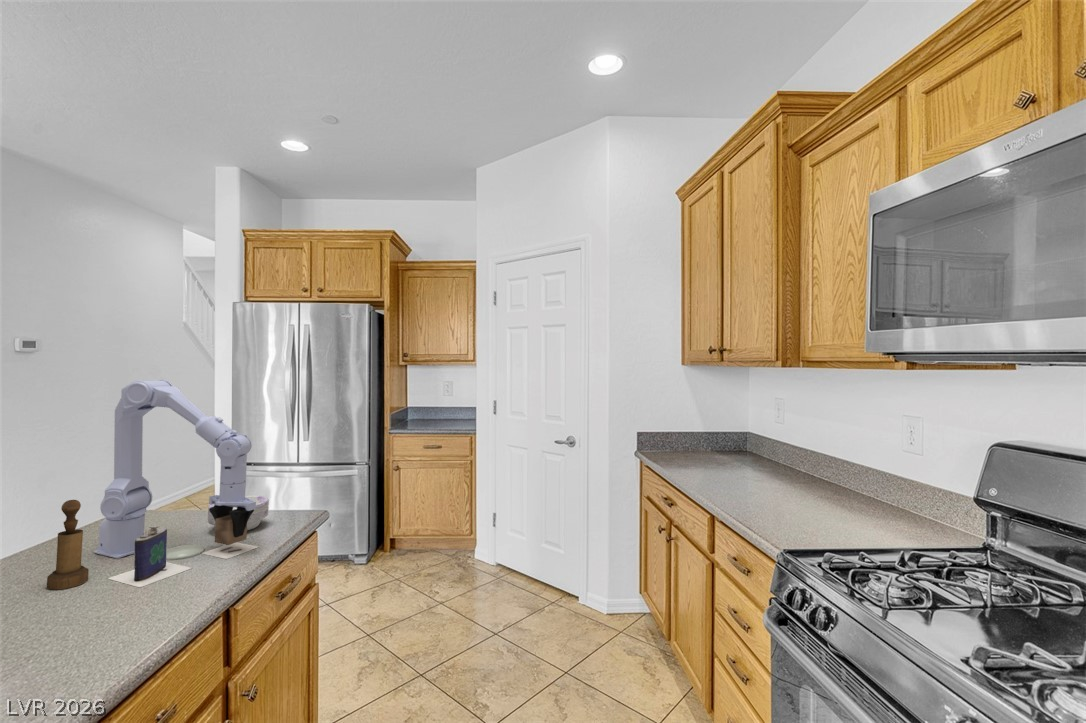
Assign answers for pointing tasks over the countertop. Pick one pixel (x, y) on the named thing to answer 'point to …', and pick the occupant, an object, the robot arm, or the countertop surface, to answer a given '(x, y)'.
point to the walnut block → (227, 531)
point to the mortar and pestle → (69, 552)
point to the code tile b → (229, 550)
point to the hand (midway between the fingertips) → (230, 534)
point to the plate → (184, 551)
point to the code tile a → (164, 573)
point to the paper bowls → (255, 517)
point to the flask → (150, 553)
